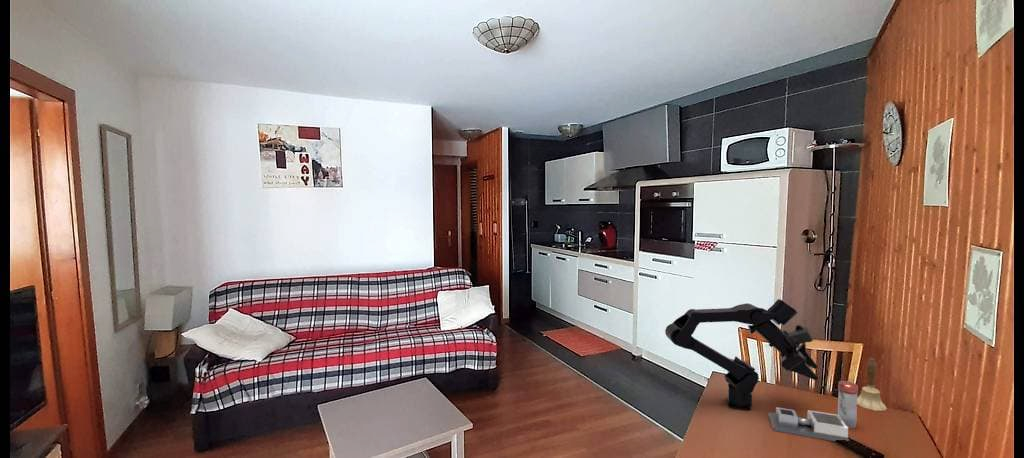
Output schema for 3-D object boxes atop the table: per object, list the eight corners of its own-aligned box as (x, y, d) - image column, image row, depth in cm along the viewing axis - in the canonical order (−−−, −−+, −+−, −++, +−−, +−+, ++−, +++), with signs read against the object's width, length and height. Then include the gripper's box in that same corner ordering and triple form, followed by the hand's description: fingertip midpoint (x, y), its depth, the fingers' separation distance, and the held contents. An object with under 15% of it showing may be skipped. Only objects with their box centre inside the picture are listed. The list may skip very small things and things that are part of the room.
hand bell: (893, 412, 131) (895, 364, 130) (863, 410, 132) (865, 362, 131) (876, 400, 139) (877, 354, 138) (848, 398, 140) (849, 353, 139)
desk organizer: (773, 430, 121) (774, 416, 121) (768, 415, 130) (768, 403, 129) (848, 443, 114) (849, 429, 114) (838, 427, 122) (838, 414, 122)
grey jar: (839, 426, 123) (841, 386, 122) (835, 418, 127) (836, 379, 127) (858, 429, 121) (860, 388, 121) (853, 421, 126) (854, 382, 125)
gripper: (792, 328, 123) (841, 370, 117) (794, 311, 138) (837, 348, 132) (763, 350, 128) (808, 391, 122) (768, 332, 143) (808, 367, 137)
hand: (816, 373), depth 128 cm, fingers open, 9 cm apart
